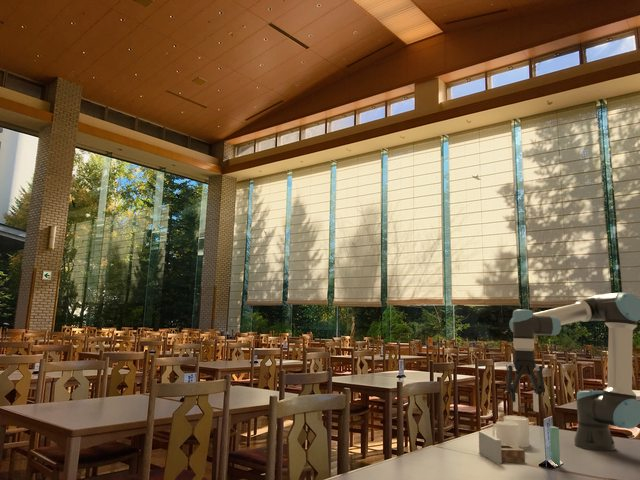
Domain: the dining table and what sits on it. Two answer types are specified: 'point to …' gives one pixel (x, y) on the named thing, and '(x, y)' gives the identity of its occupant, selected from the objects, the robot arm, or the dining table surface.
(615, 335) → the robot arm
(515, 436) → the cup
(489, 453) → the wall
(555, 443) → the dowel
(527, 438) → the mug
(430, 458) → the dining table surface
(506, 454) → the block
